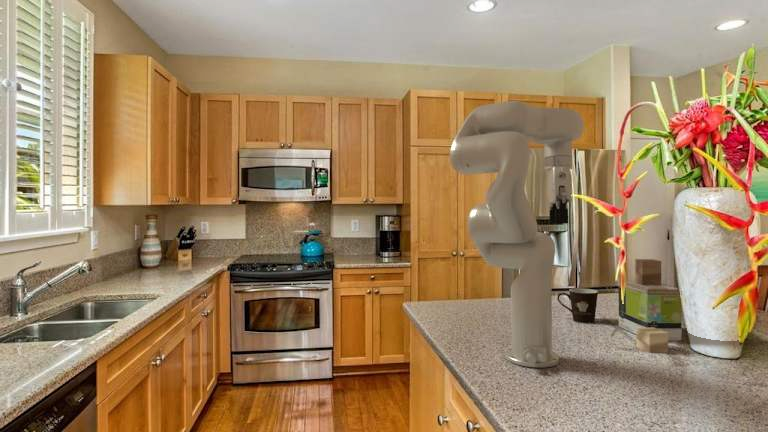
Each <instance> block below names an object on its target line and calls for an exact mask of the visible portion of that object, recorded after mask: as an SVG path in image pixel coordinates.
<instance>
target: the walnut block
mask: <svg viewBox="0 0 768 432" xmlns="http://www.w3.org/2000/svg"><path fill="white" fill-rule="evenodd" d="M634 262H635V263H634V270H635V271H634V273H635V276H634V278H635V279H634V281H635V282H636V283H638V284H641V285H661V284H662V260H658V259H653V258H652V259H650V258H648V259H647V258H641V259H640V258H639V259H638V258H635V259H634Z"/></svg>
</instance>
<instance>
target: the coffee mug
mask: <svg viewBox="0 0 768 432" xmlns="http://www.w3.org/2000/svg"><path fill="white" fill-rule="evenodd" d="M568 292H569V293H567V292H566V293H565V292H560V293H558V295H557V298H556V299H557V301H558V302H559V304H560V305H561V306H562V307H564V308H565V309H567V310H568V311H570V312H571V314H572V315H571V316H572V319H573V322H576V323H579V324H594V323H595V320H596V313H597V312H596V311H597V302H598V294H599V291H598V290H596V289H591V288H581V287H580V288H579V287H578V288H576V287H575V288H569V290H568ZM562 295H565V296H566V297H567V298H568V299H569V301H570V307H571V308H569V307H568V306H567V305H565V304H564V303H562V301H561V300H560V296H562Z"/></svg>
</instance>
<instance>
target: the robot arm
mask: <svg viewBox="0 0 768 432" xmlns="http://www.w3.org/2000/svg"><path fill="white" fill-rule="evenodd" d="M584 130H585V124H584V119H583V116H581V114H580V113H579V112H578V111H577V110H575V109H573V108H567V107H566V108H565V107H547V106H546V107H545V106H544V107H543V106H541V107H540V106H535V105H531V104H529V103H526V102H523V101H521V100H507V101H501V102H494V103H490V104H484V105H480V106H477V107H476V108H474V109H473V110H471V112H470V113H469V114H468V115H467V117H466V118H465V119H464V122H463V123H462V124H461V127H460V129H459V130H458V132H457V134H456V135H455V137H454V139H453V141H452V142H451V143H452V144H451V145H450V149H449V162H450V165H451V167H452V169H453V170H454V171H455V172H456V173H458V174H461V175H470V176H471V175H479V174H480V175H481V174H492V173H494V174H495V173H497V175H496V177H495V179H494V180H493V182H492V183H491V184H490V185H489V187H488V189H487V191H486V192H485V196H484V200H485V203H481V204H477V205H475V206H474V207H473V208H472V209H470V211H469V213H468V216H467V231H468V234H469V237H470V239H471V241H472V243H473V245H474V246H475V248H476V249H477V251H478V252H479V254H480V255H481V257H482V259H483V260H484V261H485V262H486V264H488V265H489V266H491V267H494V268H498V269H499V268H502V269H512V270H519V271H520V272H519V274H518V275H516V277H515V279H514V280H513V282H512V283H511V286H510V320H511V321H510V324H511V325H510V326H511V327H510V332H511V333H510V335H511V337H510V338H511V339H510V340H511V342H510V343H511V345H510V347H509V348H507V349H506V350H505V351H504V357H505V358H506V360H507V361H508V362H510V363H512V364H515V365H518V366H523V367H528V368H536V369H537V368H539V369H541V368H550V367H554V366H557V365H558V364H559V363H560V356H559V355H558V354H557V353H556V352H554V351H553V328H552V327H553V326H552V325H553V324H552V323H553V321H552V320H553V319H552V318H553V314H552V312H553V311H552V309H553V307H552V280H553V267H554V262H555V256H556V243H555V240H554V239H553V238H552V237H551V236H550V235H549V234H547V233H544V232H541V231H538V227H539V226H538V222H537V219H536V216H535V214H534V212H533V209H532V206H531V204H530V202H529V200H528V197H527V194H526V191H525V185H526V181H527V176H528V173H529V165H530V156H531V148H530V147H531V146H530V142H531V143H532V144H535V145H543V146H544V148H543V151H544V152H543V153H544V155H543V156H544V157H543V158H544V159H543V162H544V163H543V164H544V165H543V168H544V171H547V173H548V174H547V198H548V203H550V204H549V223H550V224H564V225H565V224H568V223H569V204H568V203H571V202H572V200H573V197H572V196H573V194H572V178H571V177H572V176H571V170H572V169H573V141H577V140H579V139H580V138H581V137H582V135H583V133H584ZM571 195H572V196H571Z"/></svg>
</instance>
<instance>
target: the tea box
mask: <svg viewBox="0 0 768 432" xmlns="http://www.w3.org/2000/svg"><path fill="white" fill-rule="evenodd" d="M620 281H621V280H619V281H618V327H619V328H621V329H623V330H626V331H628V332H630V333H632V334H634V335H636V328H651V327H654V328H657V329H659V330H662V331H665V332H667V333H668V342H669V341H671V342H672V341H675V342H676V341H682V336H683V335H682V334H683V333H682V330H683V329H682V319H683V318H682V307H683V306H682V300H681V298H680V292H679V288H680V287H675V286H672V285H667V284H664V283H661V285H641V284H638V283H636V282H635V280H626V281H627V283H626V293H625V296H624V304H622V300H621V288H620Z"/></svg>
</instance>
